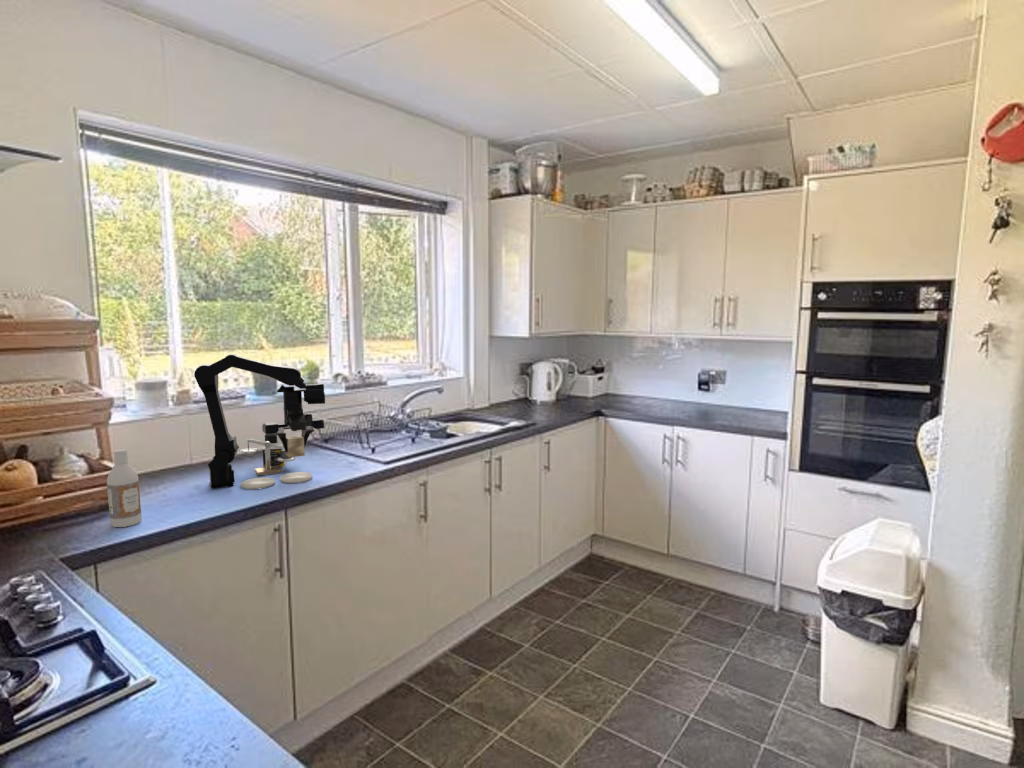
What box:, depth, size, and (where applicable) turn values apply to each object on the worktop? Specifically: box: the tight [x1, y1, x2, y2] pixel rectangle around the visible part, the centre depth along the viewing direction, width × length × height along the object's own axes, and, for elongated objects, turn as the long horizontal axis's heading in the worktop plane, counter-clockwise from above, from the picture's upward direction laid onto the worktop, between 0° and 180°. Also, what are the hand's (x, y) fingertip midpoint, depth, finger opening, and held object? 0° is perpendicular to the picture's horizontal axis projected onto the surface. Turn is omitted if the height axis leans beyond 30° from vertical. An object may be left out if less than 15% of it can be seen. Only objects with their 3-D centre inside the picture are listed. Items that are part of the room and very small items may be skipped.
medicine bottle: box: [262, 433, 287, 468], centre depth 214 cm, size 7×7×12 cm
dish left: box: [240, 477, 276, 490], centre depth 190 cm, size 10×10×1 cm
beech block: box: [285, 434, 305, 458], centre depth 195 cm, size 5×5×6 cm
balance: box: [238, 438, 296, 477], centre depth 204 cm, size 18×6×13 cm, turn 124°
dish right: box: [279, 471, 313, 484], centre depth 196 cm, size 10×10×1 cm
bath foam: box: [106, 448, 143, 528], centre depth 154 cm, size 7×7×20 cm
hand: (294, 451), depth 195 cm, fingers closed on beech block, 5 cm apart
